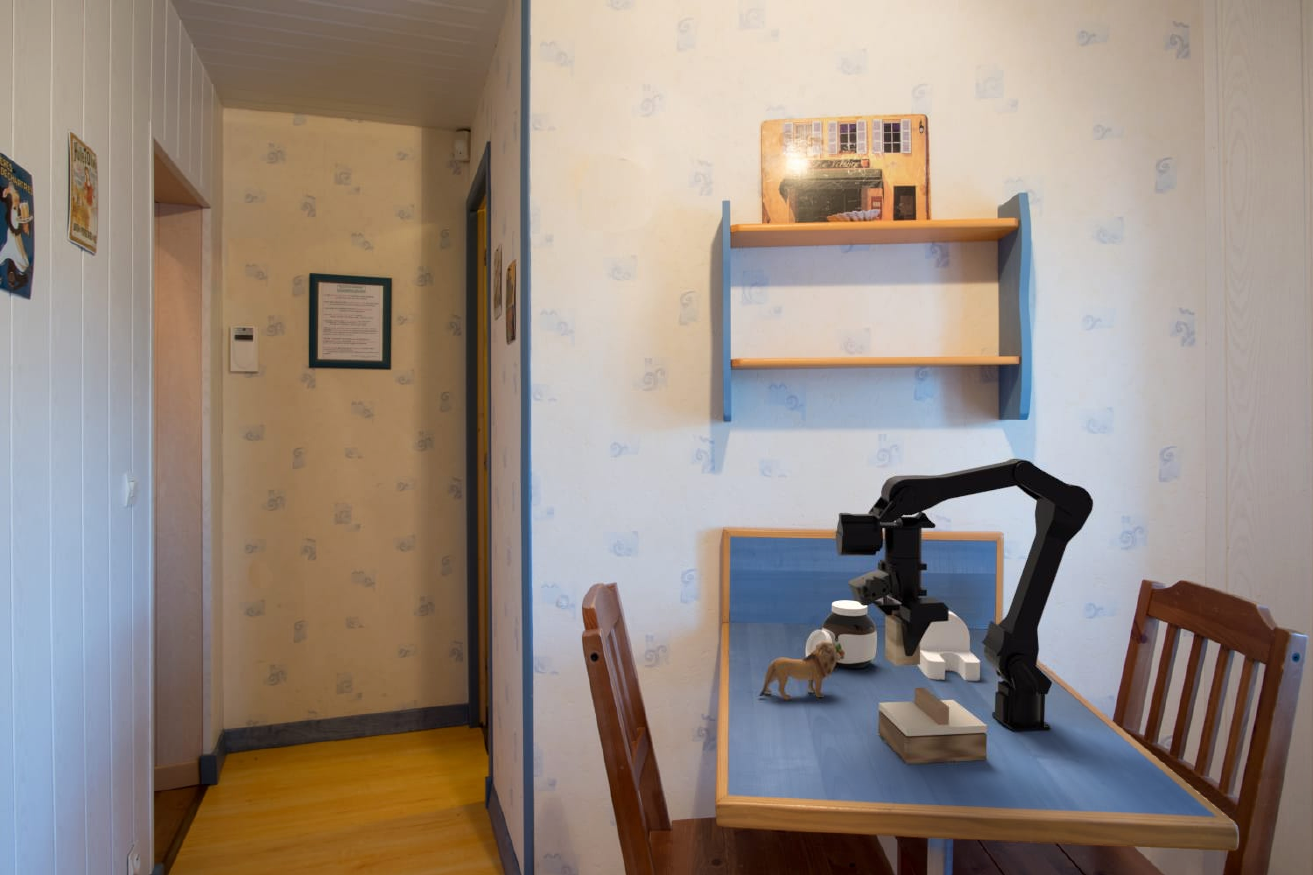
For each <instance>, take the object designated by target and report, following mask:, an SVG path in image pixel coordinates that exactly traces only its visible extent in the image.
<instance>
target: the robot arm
mask: <svg viewBox="0 0 1313 875" xmlns="http://www.w3.org/2000/svg"><path fill="white" fill-rule="evenodd" d="M1012 487H1016V488H1018V489H1019V490H1021V491H1022V492H1024V494H1026V495H1027V496H1029V497H1030V498H1032V499H1033V500H1035V501H1036V504H1035V510H1034V521H1035V534H1034V538H1033V541H1032V544H1031V547H1030V549H1029V553H1028V555H1027V559H1026V560H1025V563H1024V567H1023V570H1022V572H1021V576H1020V578H1019V581H1018V583H1017V587H1016V589H1015V592H1014V595H1013V598H1012V602H1011V603H1010V606H1009V610H1008V612H1007V614H1006V616H1005V617H1004V618H1003V619H1002V620H1001V621H1000V622H999V623H998V622H997V623H996V622H994V621H992V620H990V621H989V624H988V628H987V633H986V635H985V638H984V639H983V640H982V641H981V644H982V645H983V646H984V648H983V656H984V657H985V659H986V662H987V663H988V664H989V665H990V666H991V667H992V668H994V671H995V673H996V676H997V677H999V678H1001V679H1002V681H998V682H997V691H995V693H994V694H995V696H994V711H993V712H991V717H992V718H994V719H995V720H996V721H997V720H998V721H999V722H1000V723H1001V724H1002V725H1004V726H1005V727H1007V728H1009V730H1011V731H1013V732H1015V731H1016V732H1017V731H1019V732H1020V731H1021V732H1022V731H1041V730H1045V731H1046V730H1051V728H1052V727H1051V725H1050V724H1049V723H1047V722H1046V721H1045V718H1046V717H1045V714H1046V713H1045V712H1046V711H1045V710H1046V695H1048V694H1049V692H1050V689H1051V686H1052V685H1053V683H1052V680H1051V679H1050V678H1049V677H1048V676H1047V675H1046V674H1045V673H1044V672H1042V671H1041V669H1040V668H1039V667H1038V666H1037V665H1038V664H1037V663H1038V658H1039V651H1040V646H1039V633H1038V632H1039V630H1038V629H1039V625H1040V622H1041V619H1042V617H1043V614H1044V610H1045V608H1046V605H1047V602H1048V599H1049V597H1050V594H1051V590H1052V587H1053V585H1054V583H1055V580H1056V577H1057V574H1058V571H1059V568H1060V565H1061V562H1062V560H1063V557H1064V554H1065V551H1066V549H1067V546H1068V544H1069V543H1070V542H1071V540H1073V538H1074V537H1075V536H1077V534H1078V533H1079V532H1080V531H1081V530H1083V528H1084V525H1085V524H1086V522H1087V520H1088V519H1089V517H1090V515H1091V513H1092V511H1093V508H1094V499H1093V497H1092V496H1091V494H1090V493H1089V492H1088V490H1086V488H1084V487H1082V486H1080V485H1076V484H1070V483H1065V481H1063V480H1061V479H1059V478H1057V477H1055V476H1054V475H1051V474H1050V473H1049V472H1046V471H1044V470H1042V469H1041V468H1039V467H1038V466H1036V465H1035V464H1034V463H1033V462H1032V461H1030V460H1026V459H1020V458H1010V459H1009V460H1006V461H1002V462H997V463H991V464H987V465H983V466H978V467H973V468H968V469H967V468H966V469H964V470H958V471H953V472H948V473H943V474H938V475H927V474H926V475H923V474H921V475H920V474H918V475H916V474H915V475H914V474H913V475H911V474H910V475H909V474H908V475H895V476H891V477H889V478H888V479H886V480H885V482H884V483H883V485H882V486H881V491H880V493H881V494H880V497H879V498H878V499H877V500H876V502H875V503H874V504H873V506H872V507H871V508H870V510H869V511H868V513H851V512H850V513H849V512H839V513H838V521H837V526H836V530H835V547H836V551H837V552H836V553H837V555H838V557H840V556H842V557H843V556H845V557H846V556H847V557H849V556H851V557H852V556H854V557H855V556H861V557H863V556H867V557H868V556H869V557H871V556H876V555H877V552H881V550H882V549H884V555H883V557H884V558H883V559H879V561H878V562H877V569H876V570H873V571H869V572H866V573H864V574H862V575H860V576H857V577H854V578H851V579H850V580H849V581H848V582H847V583H848V586H849V589H850V592H851V594H852V597H853V599H854V600H853V601H857V602H859V603H860V604H861V605H863V606H866V605H867V606H869V605H873V606H875V607H876V609H878V610H879V611H880V612H881V614H883V617H884V618H885V616H886V615H892V610H900V613H901V614H893V616H894V617H895V618H896V619H897V620H898V621H899V622H900V623H901V627H902V635H903V643H904V650H905V655H906V656H913V654H914V653H915V651H916V649H917V647H918V645H919V643H920V641H921V639H922V637H923V635H924V634H925V632H926V630H927V629H928V627H929V626H930V624H931V622H944V621H948V620H949V611H950V610H949V609H950V608H949V607H948V605H946V604H945V603H944V601H941V600H939V599H936V598H935V597H933V596H929V597H928V589H926V588H924V587H923V586H922V585H923V584H922V583H923V581H922V580H923V579H922V578H923V576H922V575H923V574H922V572H923V571H928V564H927V563H926V562H923V560H922V559H923V558H922V557H923V556H922V554H923V552H922V550H923V549H922V548H923V546H922V544H923V543H922V541H923V540H922V534H923V532H922V531H923V530H922V529H935V527H936V526H937V525H936V523H934V522H933V521H932V520H931V519H930V518H929V517H928V515H927V513H925V512H924V511H926V510H929V509H932V508H934V507H935V506H937V505H939V504H940V503H942V502H945V501H948V500H952V499H956V498H957V499H958V498H961V497H966V496H971V495H976V494H981V493H982V494H983V493H986V492H992V491H997V490H1001V489H1005V488H1012ZM913 515H914V516H913ZM883 529H884V530H883ZM883 532H884V533H883ZM883 547H884V548H883ZM926 596H927V597H926Z"/></svg>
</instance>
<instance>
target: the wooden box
mask: <svg viewBox="0 0 1313 875" xmlns="http://www.w3.org/2000/svg"><path fill="white" fill-rule="evenodd" d="M878 733H879V734H880V736H881V737H882V738H883V739H884V740H885V741H886V742H885V741H884V740H883V739H882V738H881V737H880V736H879V737H880V738H881V739H882V740H883V741H884V742H885V743H886V744H887V745H888V746H889V748H890V749H892V751H893V752H894V753H895V754H896V755H897V756H898V757H899V758H900V759H901V760H902V761H903V762H904V763H905V765H912V764H930V763H931V764H932V763H950V762H951V761H952V762H953V761H955V762H971V761H972V762H973V761H974V760H975V761H986V760H987V744H988V743H987V742H988V741H987V740H988V738H987V737H988V734H986V733H966V734H944V735H921V736H906V735H905V734H904V733H903V732H902V731H901V730H900V729H899V728H898V727H897V726H896V725H895V724H894V723H893V722H892V721H891V720H890V719H888V718H887V717H886V716H885V715H884V714H883V713H882V712H881V711H880V710H879V711H878ZM952 762H951V763H952ZM953 763H954V762H953Z"/></svg>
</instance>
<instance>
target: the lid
mask: <svg viewBox="0 0 1313 875" xmlns="http://www.w3.org/2000/svg"><path fill="white" fill-rule="evenodd" d="M878 710H879V711H881V712H882V713H883V714H884V715H885V716H886V717H887V718H888V719H890V720H891V721H892V722H893V723H894V724H895V725H896V726H897V727H898V728H899V729H900V730H901V731H902V732H903V733H904V734H905V735H906V736H921V735H944V734H966V733H985V734H986V733H987V732H988V725H987V724H985V723H984V722H983V721H982V720H980V719H979V718H978V717H976V716H975V715H974V714H973V713H971V712H970V711H968V710H967V709H966V708H964V707H963V706H962V705H961V704H960V703H958V702H957V701H956V700H955V699H941V700H940V699H939V698H938V697H937V696H935V695H934V694H933V693H932V692H930V691H929V690H928V689H926V688H925V687H914V700H913V701H893V702H892V701H891V702H890V701H888V702H878Z"/></svg>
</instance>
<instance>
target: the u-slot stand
mask: <svg viewBox="0 0 1313 875" xmlns="http://www.w3.org/2000/svg"><path fill="white" fill-rule="evenodd" d="M970 641H971V639H970V631H969V629H968V626H967V625H966V623H965V622H964V621H963V620H962V619H961V618H960V617H959V616H958V615H957V614H955V613H954V612H952V611H951V610H949V620H948V621H944V622H931V624H930V626H929V627H928V629H927V630H926V632H925V634H924V635H923V637H922V639H921V641H920V665H917V666H918V668H919V669H920V671H922V673H923V674H924V675H926V676H927V677H928V678H927V677H926V676H925V677H926V678H927V679H930V680H940V679H941V680H945V679H946V671H949V672H950V671H951V672H955V673H958V675H959V676H961V678H962V679H963V680H964V681H971V682H973V681H975V682H976V681H980V677H981V676H980V674H981V673H980V672H981V669H980V668H981V660H980V659H979V658H977V656H976V655H975V654H974V653H973V652H972V651H971V646H970V644H971V642H970Z"/></svg>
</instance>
